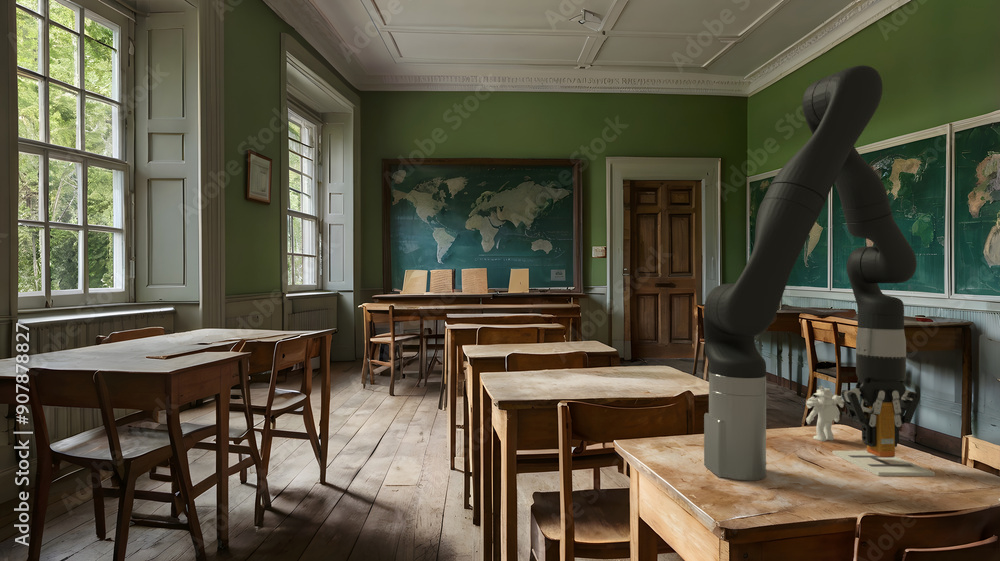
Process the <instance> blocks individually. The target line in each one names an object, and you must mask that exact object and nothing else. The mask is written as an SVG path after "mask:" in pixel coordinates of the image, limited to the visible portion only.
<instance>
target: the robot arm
mask: <svg viewBox="0 0 1000 561" xmlns="http://www.w3.org/2000/svg"><path fill="white" fill-rule="evenodd" d="M881 77H882V76H881V75H880V72H878V70H877V69H875V68H874V67H871V66H869V65H865V64H863V65H855V66H851V67H846V68H845V69H842V70H840V71H837V72H835V73H833V74H830V75H828V76H824V77H822V78H821V79H817V80H816V81H814V82H813V83H812V84H810V85H809V86H808V87H807V88H806V89H805V91H804V93H803V97H802V103H801V105H802V112H803V115H804V118H805V119H804V120H805V121H806V123H807V126H808V128H809V130H810V133H811V134H812V136H811V137H810V138H809V139H808V140H807V141H806V143H805V144H803V146H802V147H801V148H800V149H799V150H798V151H796V153H795V154H794V155H793V156H792V157H791V158H790V159H789V160H788V161H787V162H786V163H785V164H784V165H783V166H782V167H781V169H780V170H779V171H778V172H777V174H776V175H775V177H774V178H773V179H772V181H771V183H770V185H769V187H768V188H767V191H766V193H765V195H764V197H763V199H762V201H761V202H760V205H759V208H758V210H757V216H756V219H755V230H754V231H755V232H754V233H755V234H754V244H753V250H752V251H751V255H750V257H749V259H748V262H747V263H746V265H745V267H744V268H743V270H742V272H741V274H740V276H739V277H738V279H737V280H736V281H735V282H734V283H723V284H719V285H717V286H715V287H713V289H711V291H709V293H708V295H707V296H706V299H705V301H704V307H703V337H704V338H703V340H704V341H703V342H704V344H703V345H704V352H705V356H706V359H707V362H708V412H705V413H704V416H703V418H704V419H703V422H704V423H703V428H704V429H703V430H704V431H703V434H704V435H703V436H704V437H703V441H704V442H703V465H704V466H705V467H706V469H708V470H710V471H711V472H712V473H713V474H715V475H716V476H717V477H719V478H727V479H728V478H729V479H733V480H738V481H758V480H762V479H764V478H765V477H766V476H767V362H766V360H765V358H764V357H763V356H762V355H761V354H760V352H759V350H758V349H757V346H756V342H755V341H756V340H755V337H756V336H759V335H761V334H762V333H765V331H766V330H767V329H768V328H770V326H771V324H772V322H773V321H774V319H775V317H776V315H777V313H778V309H779V306H780V303H781V301H782V298H783V295H784V292H785V290H786V287H787V285H788V281H789V278H790V276H791V273H792V271H793V268H794V266H795V264H796V262H797V260H798V259H799V257H800V255H801V252H802V250H803V248H804V246H805V244H806V241H807V239H808V237H809V236H810V233H811V231H812V229H813V228H814V226H815V224H816V222H817V220H818V219H819V216H820V214H821V212H822V210H823V208H824V206H825V204H826V201H827V199H828V197H829V194H830V192H831V190H832V188H833V186H834V184H835V188H836V190H837V193H838V196H839V200H840V204H841V207H842V211H843V216H844V219H845V222H846V227H847V230H848V232H849V234H850V235H851V236H852V237H855V238H862V239H866V240H869V241H870V242H872V243H873V245H874V246H873V245H872V246H871V245H870V246H861V247H857V248H855V249H854V250H852V252H851V253H850V254H849V256H848V258H847V262H846V273H847V277H848V280H849V283H850V286H851V290H852V292H853V296H854V299H855V302H856V306H857V329H856V330H857V331H856V338H855V375H856V377H857V383H856V384H855V388H852V389H850V390H847V389H846V390H845V389H843V390H842V391H841V392H840V394H841V395H840V396H841V398H842V400H844V402H843V403H844V406H845V407H846V409H847V412H848V415H849V418H850V419H851V420H853V421H855V422H858V423H860V424H861V440H862V442H863V443H864V445H866V446H867V445H868V446H870V447H876V427H874V426H875V425H876V420H877V416H878V415H879V414H880V411H881V406H882V402H891V403H892V406H893V411H894V426H895V427H894V431H895V448H896V447H898V444H899V443H900V427H901V426H902V425H904V424H910V423H911V422H912V419H913V417H914V415H915V412H916V409H917V408H918V404H919V402H920V400H921V397H922V396H921V394H920V393H919V392H916V391H911V390H908V389H907V388H906V386H905V383H904V381H905V380H906V379H907V340H906V335H905V305H904V302H903V300H901V298H898V297H896V296H895V297H894V296H891V295H886V294H885V293H883V292H882V290H881V288H880V286H879V284H903V283H906V282H908V281H910V279H911V278H913V276H914V275H915V274H916V270H917V264H918V261H917V258H916V255H915V254H916V253H915V252H914V250H913V248H912V246H911V245H910V243H909V241H908V240H907V238H906V236H904V234H903V233H902V231H901V229H900V228H899V226H898V224H897V223H896V221H895V219H894V216H893V212H892V207H891V204H890V200H889V196H888V192H887V189H886V187H885V185H884V182H883V181H882V179H881V177H880V175H878V173H877V172H876V171H875V170H874V169H873V168H872V166H870V164H869V163H868V162H867V161H866V160H865V159H864V157H862V155H861V154H860V153H859V151H858V149H856V147H855V144H856V143H857V141H858V140H859V138H860V136H861V135H862V133H863V132H864V131H865V128H866V127H867V126H868V124H869V123H870V121H871V119H872V118H873V117H874V114H875V113H876V111H877V109H878V107H879V105H880V103H881V100H882V95H883V90H884V89H883V88H884V86H883V80H882V78H881ZM868 406H870V407H872V409H871V408H869V407H868Z"/></svg>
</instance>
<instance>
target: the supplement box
mask: <svg viewBox="0 0 1000 561" xmlns="http://www.w3.org/2000/svg"><path fill="white" fill-rule="evenodd" d="M868 407H869V408H871V409H872V407H870V406H868ZM874 427H876V447H870V446H868V445H866V451H867V452H868V453H871V454H874V455H876V456H878V457H895V456H896V449H895V448H896V447H895V431H894V427H895V426H894V411H893V406H892V403H891V402H882V406H881V411H880V414H879V415H878V416H877V420H876V425H875V426H874Z"/></svg>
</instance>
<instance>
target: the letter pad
mask: <svg viewBox="0 0 1000 561" xmlns="http://www.w3.org/2000/svg"><path fill="white" fill-rule="evenodd" d="M832 455H835V456H836V457H838V458H840V459H842V460H845V461H847V462H849V463H851V464H852V465H855V466H857V467H859V468H861V469H863V470H865V471H867V472H870V473H872V474H874V475H875V476H878V477H894V476H895V477H900V476H901V477H932V476H933V477H935V476H936V474H935V471H933V470H930V469H927V468H925V467H923V466H920V465H917V464H915V463H913V462H910V461H908V460H905V459H903V458H901V457H898V456H896V455H895V457H878V456H876V455H874V454H871V453H868V452H867V450H832Z"/></svg>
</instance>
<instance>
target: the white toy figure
mask: <svg viewBox="0 0 1000 561" xmlns="http://www.w3.org/2000/svg"><path fill="white" fill-rule="evenodd" d="M831 390H832V389H831V388H826V387H824V385H818V389H816V392H815V393H813V394H812V395H811V396H810V398H808V399H807V400H805V405H806V407H807V409H811V408H813V409H812V410H811V411H810V413H809V414H808V416H807V417H806V418H805V421H806V423H807V425H810V424H811V422H812V421H814V420H815V418H814V417H816V416H817V421H816V428H815V431H816V435H813V440H816V441H821V442H827V441H834V433H833V431H832V425H833V421H834V422H835V423H839V421H840V410H839V408H838V406H839V407H840V408H844V406H845V402H844V400H843V398H842V395H838V394H835V393H832V391H831ZM814 395H815V396H814ZM837 405H838V406H837Z"/></svg>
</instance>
